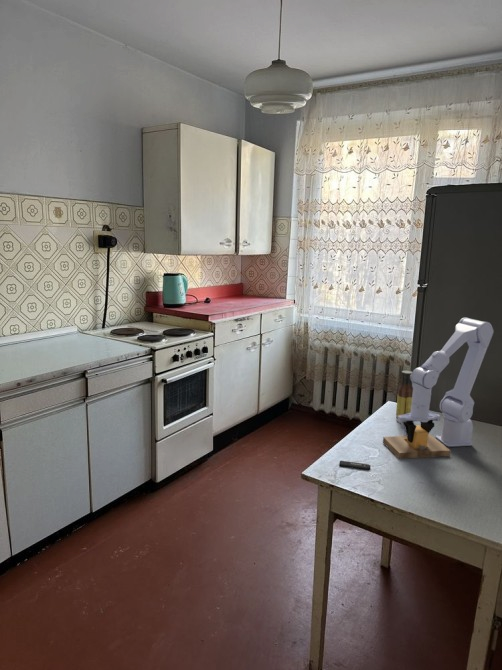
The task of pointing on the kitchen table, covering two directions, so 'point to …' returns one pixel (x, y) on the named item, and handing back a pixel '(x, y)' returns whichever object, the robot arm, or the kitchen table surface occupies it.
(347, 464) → the usb stick
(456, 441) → the robot arm
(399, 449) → the pocket board
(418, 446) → the block
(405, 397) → the sauce bottle
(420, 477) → the kitchen table surface
